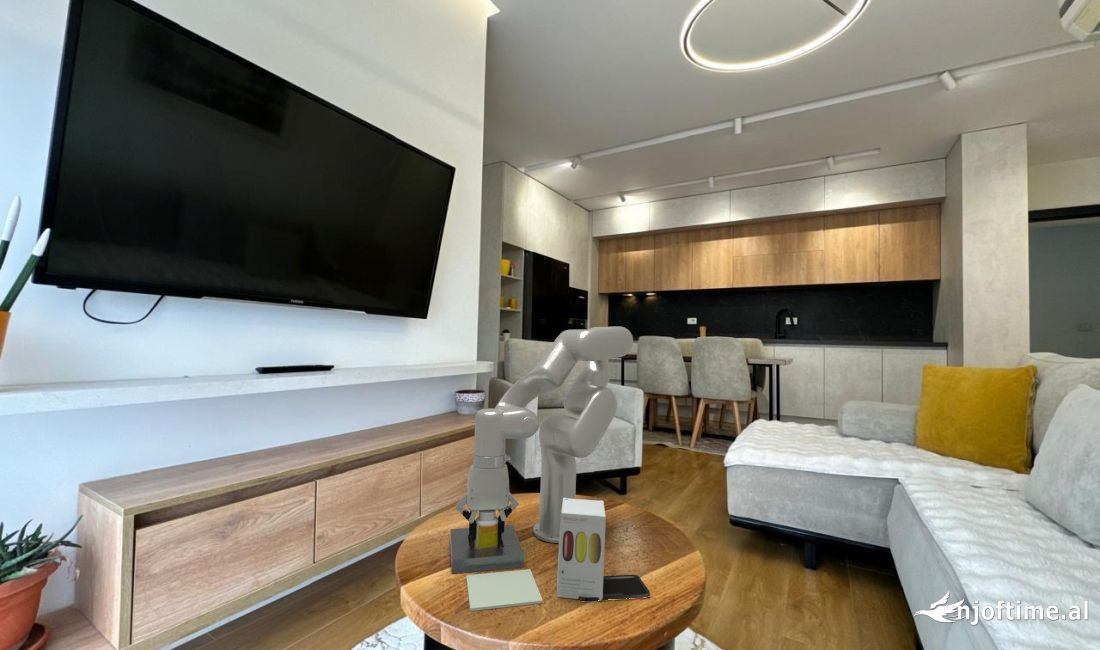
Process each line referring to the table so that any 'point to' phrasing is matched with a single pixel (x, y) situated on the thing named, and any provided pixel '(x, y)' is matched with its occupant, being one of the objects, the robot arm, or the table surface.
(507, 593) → the sage mat
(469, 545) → the socket block
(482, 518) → the supplement bottle
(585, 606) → the table surface
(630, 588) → the phone
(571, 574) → the supplement box
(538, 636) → the table surface
